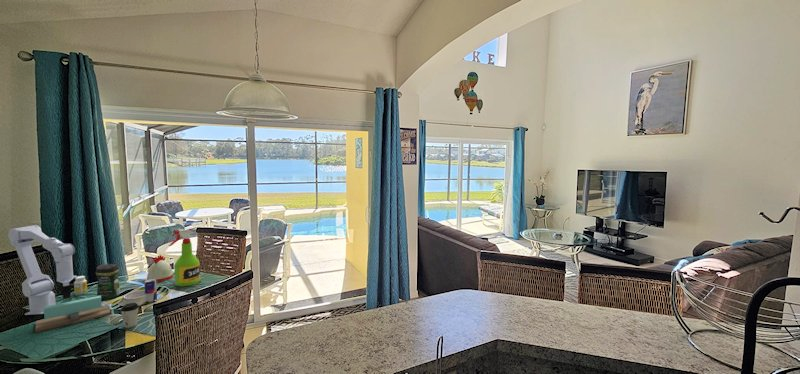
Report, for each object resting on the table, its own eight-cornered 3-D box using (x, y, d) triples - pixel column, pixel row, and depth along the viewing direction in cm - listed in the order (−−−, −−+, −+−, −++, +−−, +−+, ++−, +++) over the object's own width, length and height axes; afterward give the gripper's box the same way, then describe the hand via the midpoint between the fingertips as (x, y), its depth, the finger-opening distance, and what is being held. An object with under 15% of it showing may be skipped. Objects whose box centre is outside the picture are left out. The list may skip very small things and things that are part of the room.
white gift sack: (141, 280, 215) (140, 258, 213) (160, 273, 228) (159, 251, 227) (160, 282, 212) (159, 259, 211) (178, 275, 226) (177, 253, 224)
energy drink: (150, 303, 183) (149, 282, 182) (142, 302, 184) (141, 281, 183) (159, 299, 188) (158, 278, 187) (151, 298, 190) (150, 278, 188)
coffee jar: (94, 299, 186) (92, 267, 185) (104, 293, 194) (102, 262, 192) (114, 299, 188) (111, 266, 186) (123, 293, 196) (121, 262, 194)
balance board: (36, 323, 161) (35, 316, 160) (107, 306, 179) (107, 300, 179) (35, 332, 152) (34, 325, 152) (110, 314, 171) (110, 307, 171)
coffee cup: (124, 330, 156) (123, 309, 155) (118, 326, 160) (117, 305, 159) (142, 324, 162) (141, 304, 161) (136, 320, 166) (135, 300, 165)
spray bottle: (162, 287, 205) (160, 230, 202) (189, 277, 223) (187, 224, 219) (179, 290, 202) (177, 232, 198) (205, 279, 219) (203, 226, 215)
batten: (44, 319, 157) (43, 309, 157) (45, 316, 160) (44, 306, 159) (101, 306, 171) (101, 297, 170) (101, 304, 173) (100, 295, 173)
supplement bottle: (75, 295, 191) (74, 279, 190) (74, 293, 194) (72, 277, 193) (88, 293, 195) (87, 277, 194) (86, 290, 198) (85, 274, 197)
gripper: (76, 271, 164) (78, 298, 165) (75, 263, 174) (76, 289, 175) (56, 274, 159) (58, 302, 160) (55, 266, 169) (57, 292, 170)
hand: (66, 295), depth 167 cm, fingers open, 7 cm apart
